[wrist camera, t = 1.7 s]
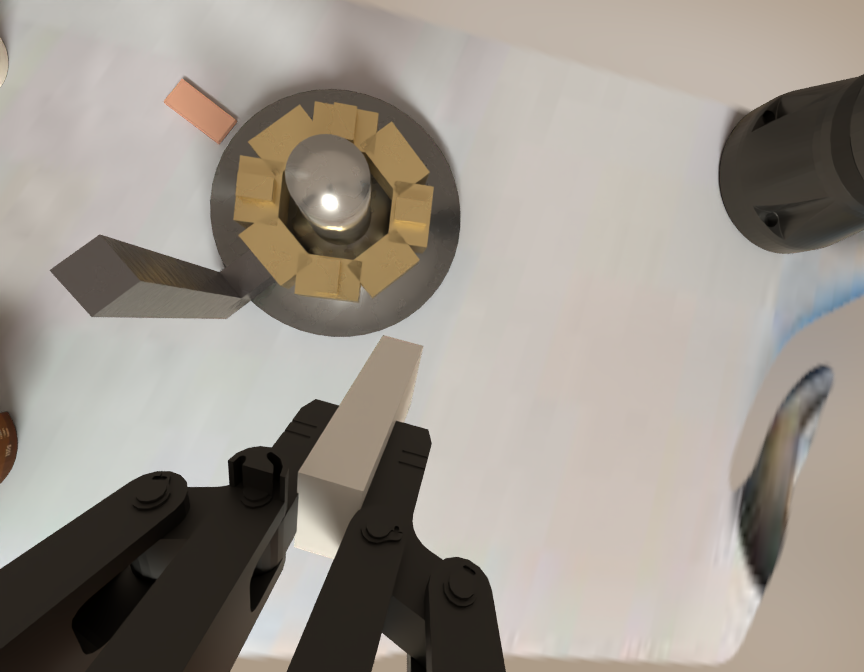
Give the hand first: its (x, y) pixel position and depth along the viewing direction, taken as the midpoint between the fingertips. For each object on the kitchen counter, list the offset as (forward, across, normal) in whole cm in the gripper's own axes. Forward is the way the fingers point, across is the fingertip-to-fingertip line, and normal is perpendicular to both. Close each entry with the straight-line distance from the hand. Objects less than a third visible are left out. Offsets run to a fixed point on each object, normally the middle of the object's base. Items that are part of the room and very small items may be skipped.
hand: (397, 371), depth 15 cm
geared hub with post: (+19, +12, +2) cm, 22 cm away
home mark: (+22, +23, -4) cm, 32 cm away
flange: (+22, +10, +2) cm, 24 cm away
